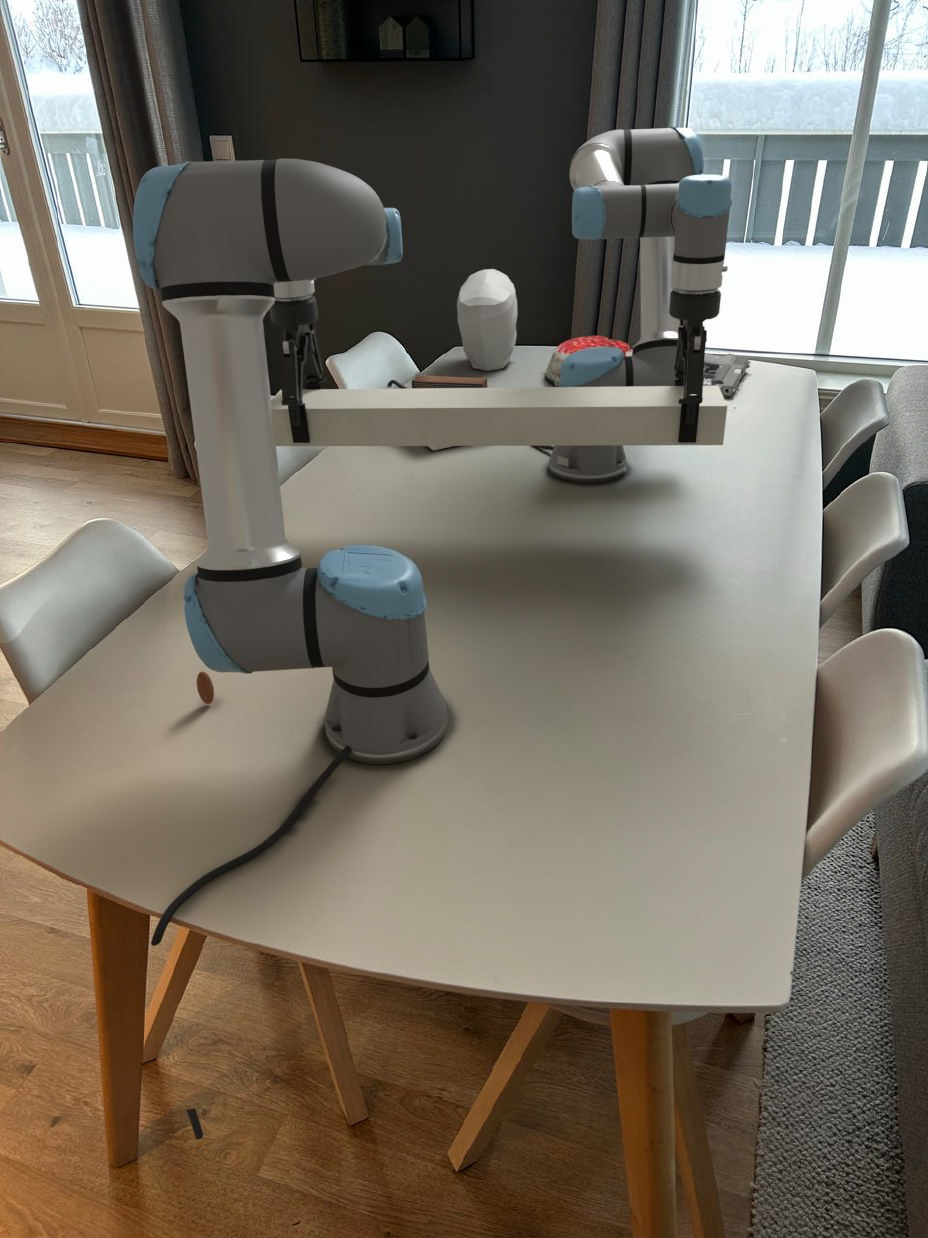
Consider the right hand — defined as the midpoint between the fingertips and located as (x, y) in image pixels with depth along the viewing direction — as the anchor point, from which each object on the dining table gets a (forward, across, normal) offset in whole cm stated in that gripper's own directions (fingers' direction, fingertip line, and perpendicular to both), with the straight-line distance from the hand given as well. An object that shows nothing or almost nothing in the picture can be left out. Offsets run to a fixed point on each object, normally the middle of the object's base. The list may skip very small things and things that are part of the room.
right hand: (683, 429), depth 149 cm
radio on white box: (+18, +47, +45) cm, 67 cm away
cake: (+18, +88, +13) cm, 91 cm away
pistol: (+18, +84, -16) cm, 87 cm away
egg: (+17, -55, +65) cm, 87 cm away
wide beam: (+1, 0, +32) cm, 32 cm away
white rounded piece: (+18, +98, +40) cm, 108 cm away
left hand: (0, 0, +63) cm, 63 cm away
